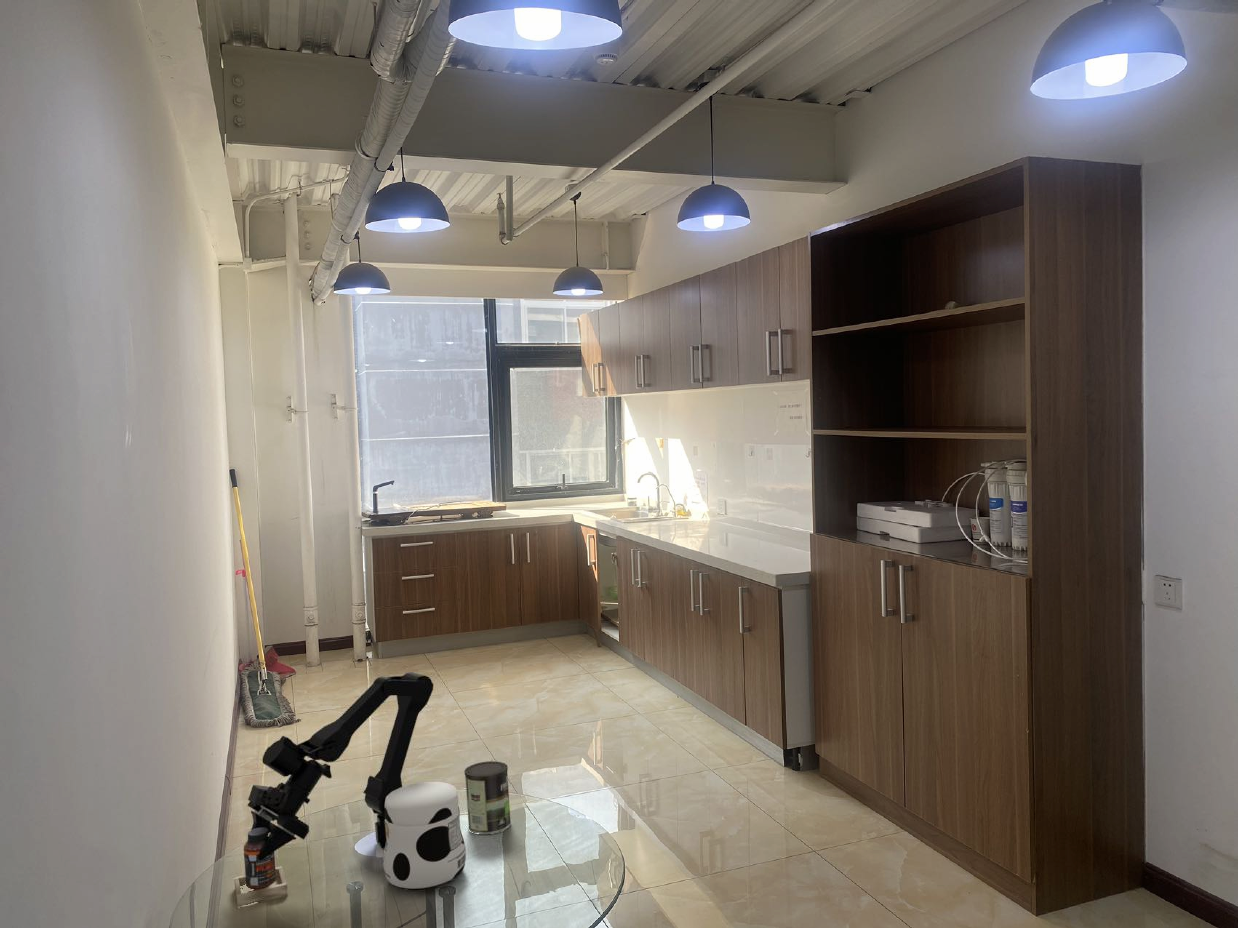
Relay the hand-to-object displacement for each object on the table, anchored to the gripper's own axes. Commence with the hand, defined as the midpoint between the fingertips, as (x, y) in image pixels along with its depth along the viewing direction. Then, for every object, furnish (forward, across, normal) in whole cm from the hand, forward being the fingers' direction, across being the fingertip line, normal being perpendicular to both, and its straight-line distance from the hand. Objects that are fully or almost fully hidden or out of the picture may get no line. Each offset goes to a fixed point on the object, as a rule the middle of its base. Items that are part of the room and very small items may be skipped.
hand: (252, 854), depth 194 cm
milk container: (-13, +22, +26) cm, 37 cm away
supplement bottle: (+4, 0, +6) cm, 7 cm away
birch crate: (+5, 0, +7) cm, 9 cm away
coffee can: (-30, +11, +43) cm, 54 cm away
